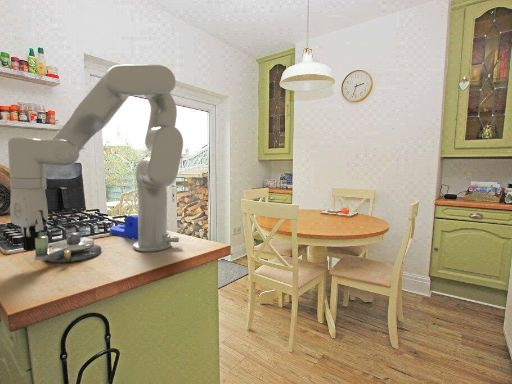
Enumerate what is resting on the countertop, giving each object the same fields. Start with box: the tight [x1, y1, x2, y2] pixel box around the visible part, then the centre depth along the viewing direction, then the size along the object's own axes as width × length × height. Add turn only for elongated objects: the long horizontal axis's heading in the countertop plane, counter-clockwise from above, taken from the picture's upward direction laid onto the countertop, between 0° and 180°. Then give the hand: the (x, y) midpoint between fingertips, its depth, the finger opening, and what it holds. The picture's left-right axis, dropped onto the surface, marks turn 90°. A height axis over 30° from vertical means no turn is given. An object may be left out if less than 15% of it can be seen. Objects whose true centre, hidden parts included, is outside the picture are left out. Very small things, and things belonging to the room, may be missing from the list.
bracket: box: [109, 214, 138, 241], centre depth 110 cm, size 18×8×9 cm, turn 65°
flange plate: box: [34, 231, 95, 262], centre depth 81 cm, size 18×11×6 cm, turn 173°
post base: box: [44, 244, 102, 264], centre depth 85 cm, size 15×16×4 cm
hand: (31, 249), depth 75 cm, fingers closed
